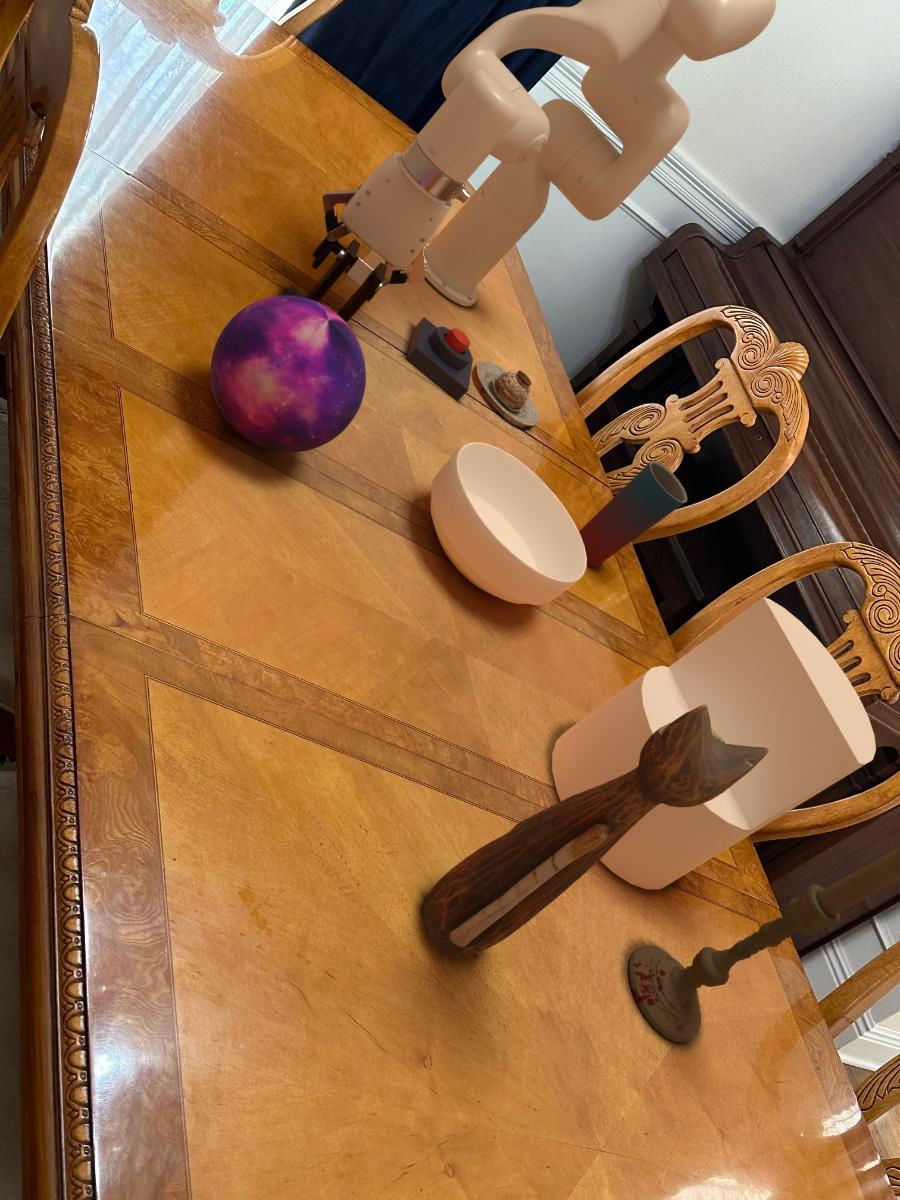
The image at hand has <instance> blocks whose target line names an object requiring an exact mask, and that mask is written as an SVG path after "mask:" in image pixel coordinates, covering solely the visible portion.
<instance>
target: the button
mask: <svg viewBox="0 0 900 1200" xmlns="http://www.w3.org/2000/svg"><path fill="white" fill-rule="evenodd" d="M450 330H451V331H450V332H449V333H448V334H447V335H446V336H445V337H444V338H445V340H446V342H447V343H448V345H449V346H450V347H451V348H452V349H453V350H455V351H456V352H457V353H459V354H462V353H463V352H464V351H465V350H466V349H467V348H469V347H470V346H471V340H470V338H469V337H468V335H467V334H465V332H464V331H462V330H461V329H459V328H458V327H452V328H451V329H450Z"/></svg>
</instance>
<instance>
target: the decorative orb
mask: <svg viewBox="0 0 900 1200" xmlns="http://www.w3.org/2000/svg"><path fill="white" fill-rule="evenodd" d="M213 347H214V348H213V351H212V355H211V360H210V383H211V389H212V393H213V396H214V397H213V398H214V399H215V402H216V405H217V407H218V409H219V410H220V412H221V414H222V416H223V417H224V419H225V421H227V423H228V425H230V426H231V428H232V429H234V430H235V432H237V433H238V434H239V435H240V436H241V437H242V438H244V439H245V440H247V441H249V442H250V443H252V444H254V445H255V446H258V447H260V448H263V449H265V450H269V451H272V452H280V453H288V454H289V453H293V454H294V453H301V452H308V451H312V450H314V449H317V448H320V447H322V446H324V445H326V444H328V443H331V441H333V440H334V439H336V438H337V437H338V436H340V435H341V434H342V433H343V432H344V431H345V430H346V429H347V428H348V427H349V425H351V423H352V421H353V420H354V419H355V417H356V415H357V413H358V411H359V410H360V407H361V405H362V402H363V399H364V397H365V396H364V395H365V391H366V384H367V368H366V362H365V361H366V360H365V355H364V352H363V350H362V346H361V344H360V342H359V340H358V338H357V336H356V335H355V333H354V332H353V330H352V329H351V327H350V326H349V324H348V323H346V322H345V321H344V320H343V319H342V318H341V317H340V316H339V315H337V312H335V311H334V310H332V309H331V308H330V307H328V306H327V305H325V304H323V303H320V301H319V302H316V301H314V300H311V299H307V298H303V297H298V296H283V295H274V296H270V297H266V298H262V299H260V300H257V301H255V302H253V303H251V304H249V305H247V306H245V307H244V308H243V309H240V311H239V312H237V313H236V314H235V315H234V316H233V317H232V318H230V320H229V321H228V322H227V323H226V325H225V326H224V328H223V329H222V330H221V332H220V334H219V335H218V337H217V340H216V342H215V345H214V346H213Z"/></svg>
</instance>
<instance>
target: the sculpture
mask: <svg viewBox="0 0 900 1200" xmlns="http://www.w3.org/2000/svg"><path fill="white" fill-rule="evenodd" d="M768 751H769V748H764V747H750V746H739V745H734V744H726V743H725V742H724V740H723V739H722V738H721V737H720V736H719V735H718V734H717V733H716V732H715V731H714V730H713V729H712V728H711V722H710V716H709V712H708V706H707V705H700V706H699V707H697V708H695V709H693V710H691V711H689V712H687V713H685V714H683V715H682V716H680V717H679V718H677V719H676V720H674V721H673V722H672V723H669V724H667V725H665V726H663V727H660V728H659V729H658V730H657V731H655V732H654V733H653V734H652V735H651V736H650V737H649V739H648V740H647V741H646V743H645V744H644V746H643V748H642V750H641V753H640V758H639V766H638V767H636V768H635V769H633V770H632V771H630V772H628V773H626V774H624V775H622V776H619V777H617V778H615V779H613V780H611V781H608V782H606V783H604V784H601V785H598V786H596V787H593V788H591V789H588V790H585V791H583V792H581V793H578V794H575V795H573V796H570V797H568V798H566V799H564V800H562V801H561V800H560V801H558V802H557V803H555V804H552V805H550V806H549V807H547V808H545V809H543V810H541V811H539V812H537V813H534V814H533V815H532V816H529V817H528V818H527V817H526V818H525V819H523V820H520V821H519V822H518V823H516V824H515V825H514V826H513V827H512V828H511V829H510V830H509V831H508V832H506V833H505V834H503V835H501V836H499V837H497V838H495V839H494V840H491V841H490V842H488V843H486V844H484V845H482V846H481V847H480V848H478V849H477V850H475V851H474V852H472V853H470V854H469V855H468V856H466V857H465V858H464V859H463V860H461V861H460V862H458V863H457V864H456V865H455V866H453V867H452V868H451V869H450V870H448V871H447V872H446V873H445V874H444V875H443V876H442V877H440V879H439V880H438V881H437V882H436V883H435V884H434V885H433V887H432V888H431V889H430V891H429V893H428V894H427V896H426V898H425V901H424V905H423V918H424V919H423V920H424V924H425V929H426V932H427V935H428V937H429V939H430V941H431V942H432V943H433V944H434V945H435V947H436V948H437V949H438V950H439V951H440V952H441V953H443V954H445V955H447V956H450V957H453V958H468V957H471V956H474V955H477V954H479V953H481V952H483V951H486V950H488V949H490V948H492V947H494V946H497V945H498V944H499V943H501V942H503V941H504V940H505V939H507V938H509V937H510V936H512V935H513V934H514V933H516V931H518V930H520V929H521V928H522V927H524V925H526V924H527V923H528V922H530V921H531V920H532V919H533V918H534V917H536V916H537V915H538V914H540V912H542V911H543V910H544V909H545V908H546V907H548V906H549V905H550V904H552V902H554V901H555V900H556V899H558V897H560V896H561V895H562V894H564V893H565V892H566V891H567V890H568V889H569V888H570V887H571V886H572V885H574V884H575V883H576V882H577V881H578V880H579V879H580V878H582V877H583V876H584V875H585V874H586V873H587V872H588V871H589V870H590V869H592V868H593V867H594V866H595V864H597V863H598V862H599V861H600V859H601V858H602V857H603V856H604V855H605V854H606V853H607V852H608V851H609V850H610V849H611V848H612V847H613V846H614V845H615V844H616V843H617V842H618V841H619V840H620V839H621V838H622V837H623V836H624V835H625V834H626V833H627V832H628V831H629V830H630V829H631V828H632V827H633V826H634V825H635V824H636V823H637V822H638V821H640V820H641V819H642V818H643V817H644V816H645V815H646V814H647V813H648V812H649V811H651V810H652V809H653V808H655V807H656V806H657V805H659V804H661V803H663V804H666V805H669V806H673V807H691V806H697V805H700V804H703V803H705V802H708V801H710V800H712V799H714V798H715V797H717V796H719V795H720V794H722V793H723V792H725V791H726V790H727V789H728V788H730V787H731V786H732V785H733V784H735V783H736V782H737V781H739V780H740V779H741V778H742V777H744V776H745V775H746V774H747V773H748V772H750V771H751V770H752V769H753V768H754V767H755V766H756V765H757V764H758V763H759V762H760V761H761V760H762V759H763V758H764V757H765V756H766V754H767V753H768Z"/></svg>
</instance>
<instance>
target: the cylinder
mask: <svg viewBox="0 0 900 1200" xmlns="http://www.w3.org/2000/svg"><path fill="white" fill-rule="evenodd" d="M842 669H843V668H841V666H840V665H839V664H838V662H837V661H836V660H835V658H834V657H833V655H831V653H830V652H829V651H828V649H827V648H826V647H825V646H824V645H823V643H822V642H821V641H820V640H819V639H818V638H817V637H816V636H815V635H814V633H812V631H811V630H810V629H808V628H807V627H806V625H805V624H803V622H802V621H801V620H799V619H798V618H797V617H796V616H794V614H792V613H791V612H790V611H789V610H787V609H786V608H785V607H783V606H782V605H780V604H779V603H777V602H775V601H774V600H772V599H770V598H768V597H765V596H763V597H762V598H761V599H759V600H758V601H756V602H755V603H754V604H752V605H750V607H748V608H747V609H745V610H744V611H743V612H742V613H740V614H739V615H737V616H736V617H735V618H733V619H732V620H731V621H729V622H728V623H727V624H725V625H723V626H722V627H721V628H720V629H718V630H717V631H716V632H714V633H713V634H712V635H710V636H709V637H707V638H706V639H705V640H703V641H702V642H701V643H700V644H698V645H696V646H695V647H694V648H693V649H691V650H690V651H688V652H687V653H686V654H684V655H683V656H681V657H680V658H679V659H677V660H676V661H675V662H673V663H672V664H671V665H669V666H665V665H658V666H654V667H651V668H649V669H648V670H647V671H645V672H644V673H642V674H641V675H640V676H638V677H637V678H636V679H635V680H633V681H632V682H630V683H629V684H628V685H627V686H625V687H623V689H621V690H620V691H618V692H617V693H616V694H613V696H611V697H610V698H609V699H608V700H606V701H605V702H603V703H602V704H601V705H599V706H598V707H597V708H595V709H594V710H592V711H591V712H590V713H589V714H587V715H586V716H585V717H583V718H582V719H581V720H579V721H578V722H577V723H575V724H574V725H572V726H571V727H570V728H569V729H567V730H566V731H565V732H563V733H562V734H561V735H560V736H559V737H558V738H557V739H556V740H555V744H554V747H553V750H552V752H551V773H552V776H553V780H554V786H555V788H556V793H557V796H558V798H559V800H560V802H561V801H562V800H564V799H566V798H568V797H570V796H573V795H575V794H578V793H581V792H583V791H585V790H588V789H591V788H593V787H596V786H598V785H601V784H604V783H606V782H608V781H611V780H613V779H615V778H617V777H619V776H622V775H624V774H626V773H628V772H630V771H632V770H633V769H635V768H636V767H638V766H639V758H640V753H641V750H642V748H643V746H644V744H645V743H646V741H647V740H648V739H649V737H650V736H651V735H652V734H653V733H654V732H655V731H657V730H658V729H659V728H660V727H663V726H665V725H667V724H669V723H672V722H673V721H674V720H676V719H677V718H679V717H680V716H682V715H683V714H685V713H687V712H689V711H691V710H693V709H695V708H697V707H699V706H700V705H707V706H708V712H709V716H710V722H711V728H712V729H713V730H714V731H715V732H716V733H717V734H718V735H719V736H720V737H721V738H722V739H723V740H724V742H725V743H726V744H734V745H739V746H750V747H764V748H769V751H768V753H767V754H766V756H765V757H764V758H763V759H762V760H761V761H760V762H759V763H758V764H757V765H756V766H755V767H754V768H753V769H752V770H751V771H750V772H748V773H747V774H746V775H745V776H744V777H742V778H741V779H740V780H739V781H737V782H736V783H735V784H733V785H732V786H731V787H730V788H728V789H727V790H726V791H725V792H723V793H722V794H720V795H719V796H717V797H715V798H714V799H712V800H710V801H708V802H705V803H703V804H700V805H697V806H691V807H673V806H669V805H666V804H663V803H661V804H659V805H657V806H656V807H655V808H653V809H652V810H651V811H649V812H648V813H647V814H646V815H645V816H644V817H643V818H642V819H641V820H640V821H638V822H637V823H636V824H635V825H634V826H633V827H632V828H631V829H630V830H629V831H628V832H627V833H626V834H625V835H624V836H623V837H622V838H621V839H620V840H619V841H618V842H617V843H616V844H615V845H614V846H613V847H612V848H611V849H610V850H609V851H608V852H607V853H606V854H605V855H604V856H603V857H602V858H601V859H600V860H599V861H600V862H601V863H602V864H603V865H604V866H605V867H606V868H607V869H609V871H611V873H612V874H615V875H616V876H618V877H619V878H621V879H622V880H624V881H626V882H627V883H628V884H630V885H632V886H636V887H639V888H641V889H645V890H661V889H664V888H665V887H667V886H668V885H671V884H672V883H674V882H675V881H677V880H678V879H680V878H682V877H683V876H685V875H687V874H688V873H690V872H692V871H693V870H694V869H696V868H699V867H700V866H701V865H703V864H704V863H706V862H708V861H710V860H711V859H712V858H715V857H716V856H718V855H719V854H721V853H723V852H724V851H726V850H727V849H729V848H731V847H733V846H734V845H735V844H737V843H739V842H741V841H742V840H744V839H746V838H747V837H749V836H750V835H752V834H754V833H756V832H757V831H759V830H760V829H762V828H764V827H765V826H767V825H769V824H770V823H772V822H773V821H775V820H776V819H778V818H780V817H782V816H784V815H785V814H787V813H788V812H790V811H791V810H793V809H795V808H796V807H798V806H800V805H801V804H803V803H804V802H806V801H809V799H811V798H813V797H814V796H816V795H818V794H819V793H821V792H822V791H824V790H826V789H827V788H829V787H830V786H831V787H832V785H834V784H836V783H837V782H839V781H840V780H842V779H844V778H846V777H848V776H849V775H850V774H852V773H854V772H855V771H857V770H859V769H860V768H862V767H864V766H865V765H866V764H868V763H870V762H872V761H873V760H874V757H875V754H876V751H877V746H876V736H875V733H874V730H873V727H872V723H871V721H870V718H869V715H868V713H867V710H866V709H865V707H864V704H863V702H862V701H861V698H860V696H859V695H858V693H857V692H856V690H855V688H854V686H853V685H852V683H851V681H850V680H849V678H848V677H847V675H846V674H845V672H844V671H843V670H842Z"/></svg>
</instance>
